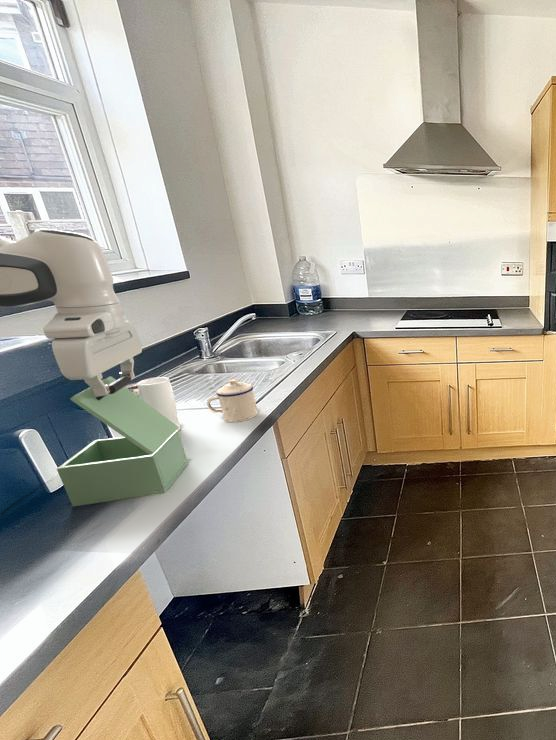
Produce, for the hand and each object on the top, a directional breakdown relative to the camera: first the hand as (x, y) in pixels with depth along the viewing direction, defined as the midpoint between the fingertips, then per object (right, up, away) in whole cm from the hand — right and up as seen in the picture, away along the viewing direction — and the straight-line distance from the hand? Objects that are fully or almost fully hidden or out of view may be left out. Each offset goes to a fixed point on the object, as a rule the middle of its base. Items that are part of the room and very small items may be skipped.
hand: (116, 386), depth 84 cm
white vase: (-15, -13, +31) cm, 37 cm away
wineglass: (-24, -11, +35) cm, 44 cm away
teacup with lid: (-2, -10, +40) cm, 41 cm away
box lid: (0, -6, +2) cm, 7 cm away
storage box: (-2, -21, +7) cm, 23 cm away
